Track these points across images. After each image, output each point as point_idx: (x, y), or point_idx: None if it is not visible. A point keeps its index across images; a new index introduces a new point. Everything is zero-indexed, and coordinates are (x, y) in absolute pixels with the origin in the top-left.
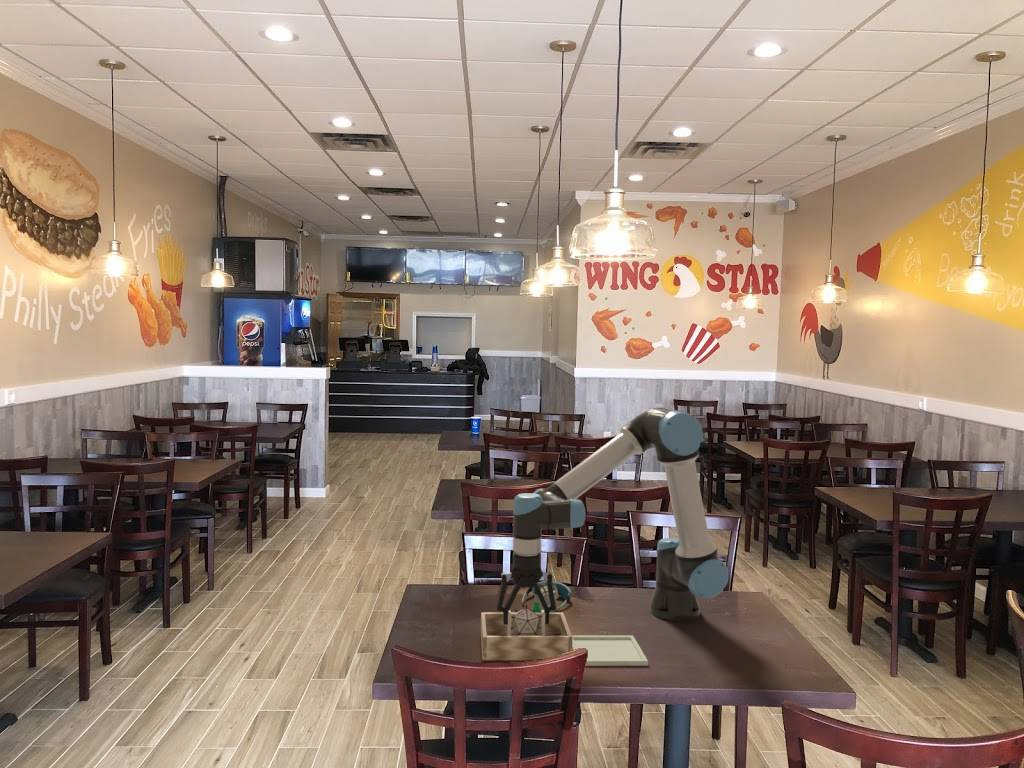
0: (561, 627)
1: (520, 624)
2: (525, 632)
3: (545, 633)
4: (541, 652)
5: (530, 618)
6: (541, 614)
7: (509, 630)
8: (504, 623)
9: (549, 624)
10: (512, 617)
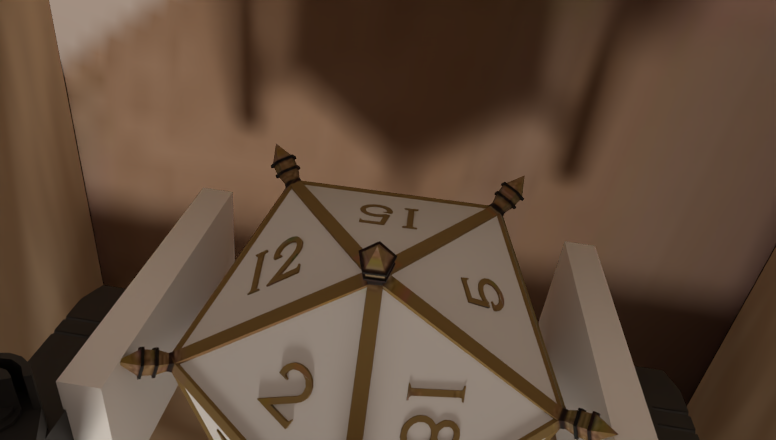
0: (38, 333)
1: (480, 285)
2: (416, 202)
3: None
4: None
5: (316, 322)
6: (144, 422)
7: (593, 294)
8: (663, 382)
9: None
10: (590, 414)
